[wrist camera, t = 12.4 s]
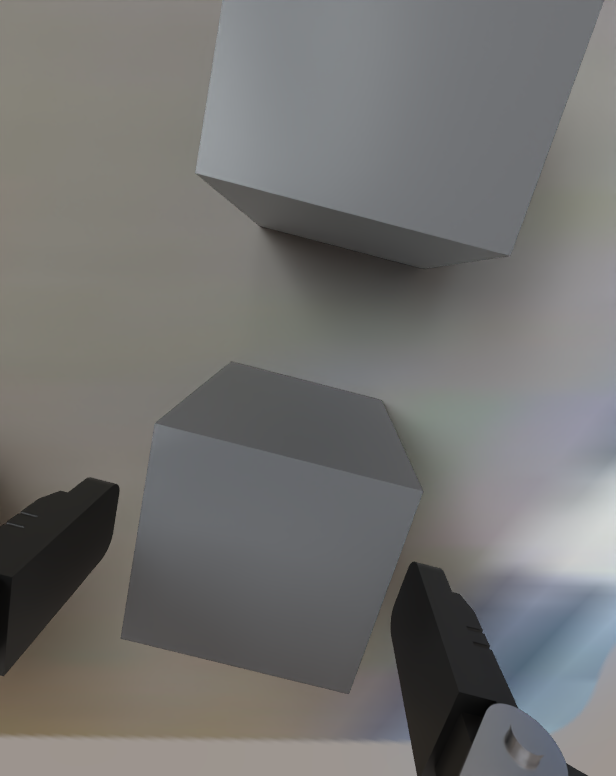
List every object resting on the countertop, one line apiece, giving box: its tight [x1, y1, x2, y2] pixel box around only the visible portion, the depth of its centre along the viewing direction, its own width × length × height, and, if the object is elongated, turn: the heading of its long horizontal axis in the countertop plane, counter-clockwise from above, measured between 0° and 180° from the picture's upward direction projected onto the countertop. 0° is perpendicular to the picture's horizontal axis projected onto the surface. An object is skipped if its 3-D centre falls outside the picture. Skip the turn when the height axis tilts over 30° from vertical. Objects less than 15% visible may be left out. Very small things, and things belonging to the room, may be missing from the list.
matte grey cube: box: [195, 0, 604, 269], centre depth 10 cm, size 6×6×7 cm
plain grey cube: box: [121, 362, 423, 694], centre depth 13 cm, size 6×6×7 cm
